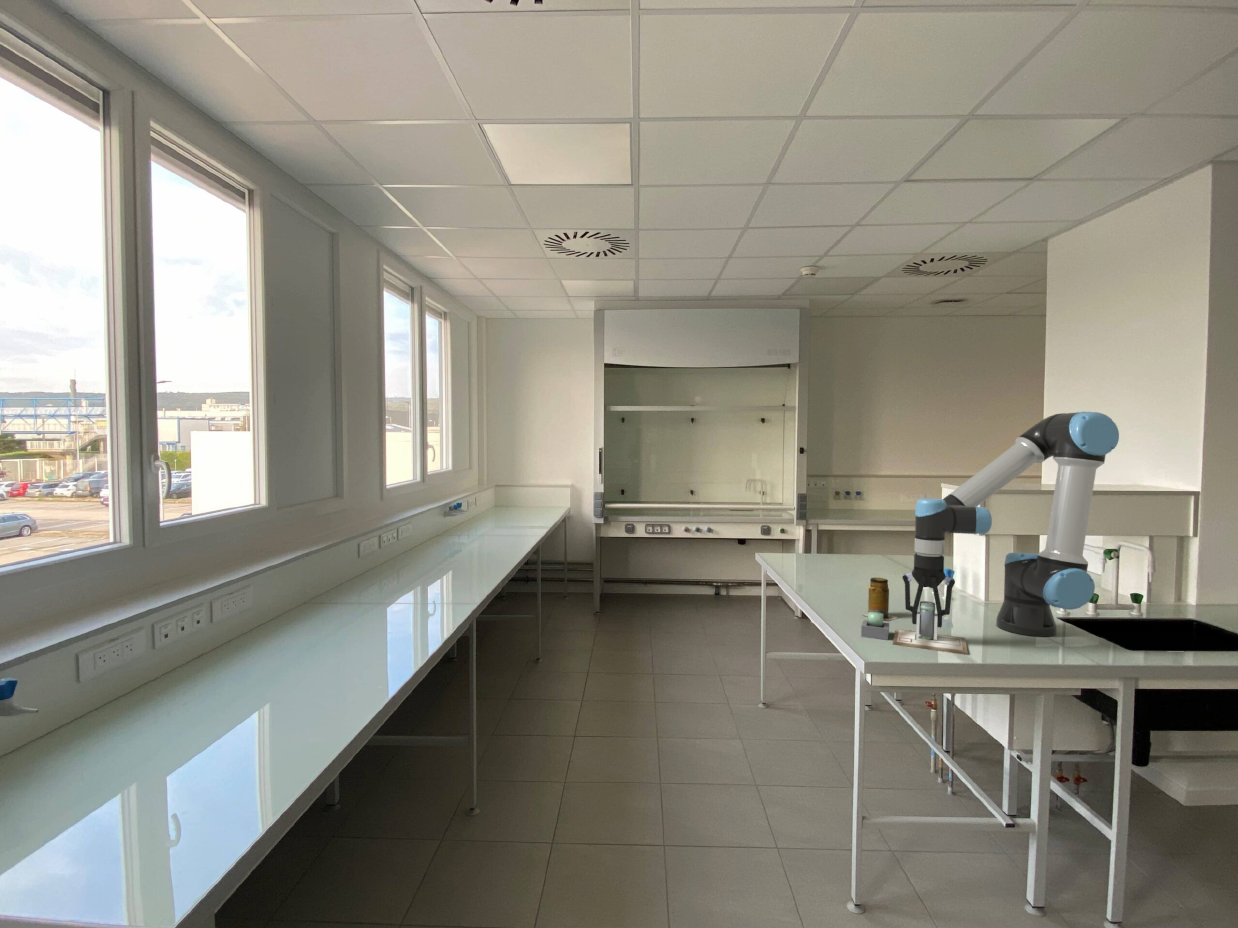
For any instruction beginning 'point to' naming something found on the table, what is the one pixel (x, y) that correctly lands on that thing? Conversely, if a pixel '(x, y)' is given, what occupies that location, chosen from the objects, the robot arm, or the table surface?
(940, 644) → the framed board
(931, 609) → the marker
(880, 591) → the condiment
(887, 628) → the button box
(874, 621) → the button
